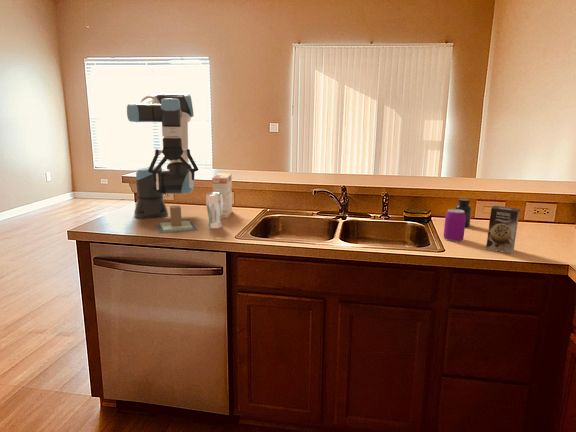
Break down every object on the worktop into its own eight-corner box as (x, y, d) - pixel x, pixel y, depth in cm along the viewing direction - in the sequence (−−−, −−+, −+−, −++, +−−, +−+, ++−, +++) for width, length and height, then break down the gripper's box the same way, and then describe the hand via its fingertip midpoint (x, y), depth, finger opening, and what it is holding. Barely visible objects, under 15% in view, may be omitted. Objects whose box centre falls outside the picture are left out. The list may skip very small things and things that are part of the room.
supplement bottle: (470, 224, 202) (473, 199, 199) (469, 227, 196) (472, 201, 193) (454, 222, 205) (456, 197, 202) (453, 226, 199) (455, 200, 196)
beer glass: (219, 230, 187) (219, 195, 183) (204, 229, 188) (203, 194, 185) (225, 226, 194) (224, 192, 190) (210, 225, 195) (209, 191, 191)
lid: (160, 225, 192) (159, 204, 190) (188, 222, 196) (187, 203, 194) (163, 231, 181) (162, 210, 179) (192, 229, 185) (191, 208, 183)
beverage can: (445, 241, 175) (448, 212, 172) (441, 236, 182) (444, 208, 179) (465, 242, 174) (468, 213, 171) (460, 237, 181) (463, 208, 178)
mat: (155, 225, 193) (155, 224, 193) (191, 222, 199) (191, 221, 199) (159, 234, 179) (158, 233, 179) (198, 231, 184) (198, 230, 184)
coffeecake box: (218, 211, 222) (217, 172, 218) (232, 211, 222) (232, 173, 218) (212, 218, 208) (211, 177, 203) (227, 218, 208) (226, 177, 203)
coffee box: (485, 249, 165) (490, 207, 161) (488, 245, 170) (493, 204, 166) (512, 254, 160) (518, 211, 156) (514, 249, 165) (520, 208, 161)
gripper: (140, 138, 172) (144, 191, 177) (204, 137, 181) (205, 188, 186) (139, 137, 179) (142, 188, 183) (200, 136, 188) (202, 185, 192)
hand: (174, 188), depth 184 cm, fingers open, 13 cm apart
